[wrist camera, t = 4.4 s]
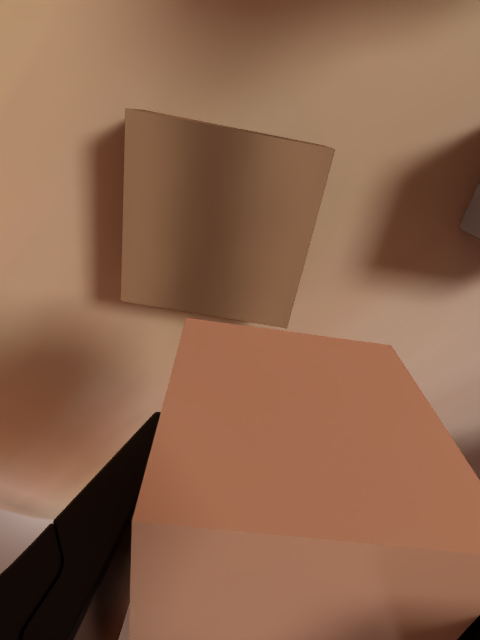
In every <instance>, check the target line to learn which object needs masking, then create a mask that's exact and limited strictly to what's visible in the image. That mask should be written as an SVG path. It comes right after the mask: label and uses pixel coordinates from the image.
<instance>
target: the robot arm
mask: <svg viewBox="0 0 480 640" xmlns="http://www.w3.org/2000/svg"><path fill="white" fill-rule="evenodd" d="M160 414H161V412H155V413H154V414H153V415H152V416H151V417H150V418H149V419H148V420H147V421H146V422H145V424H144V425H143V426H142V427H141V428H140V429H139V430H138V431H137V432H136V433H135V434H134V435H133V436H132V437H131V438H130V440H129V441H128V442H127V443H126V444H125V445H124V446H123V447H122V448H121V449H120V450H119V451H118V452H117V453H116V454H115V456H114V457H113V458H112V459H111V460H110V461H109V462H108V463H107V464H106V465H105V466H104V467H103V468H102V469H101V470H100V472H99V473H98V474H97V475H96V476H95V477H94V478H93V479H92V480H91V481H90V482H89V483H88V484H87V485H86V486H85V487H84V489H83V490H82V491H81V492H80V493H79V494H78V495H77V496H76V497H75V498H74V499H73V500H72V501H71V502H70V503H69V505H68V506H67V507H66V508H65V509H64V510H63V511H62V512H61V513H60V514H59V515H58V516H57V517H56V518H55V519H54V521H53V523H54V524H50V525H49V526H48V527H47V528H46V529H45V530H44V531H43V532H42V533H41V534H40V535H39V536H38V538H36V540H35V541H34V542H33V543H32V544H31V545H30V546H29V547H28V548H27V549H26V550H25V551H24V552H23V553H22V554H21V555H20V556H19V557H18V558H17V559H16V560H15V561H14V562H13V563H12V564H11V565H10V566H9V567H8V568H7V569H6V570H4V571H3V572H2V573H1V574H0V640H118V639H119V635H120V632H121V629H122V626H123V622H124V619H125V615H126V612H127V609H128V606H129V603H130V574H131V535H132V519H133V515H134V511H135V508H136V504H137V500H138V496H139V493H140V489H141V485H142V481H143V478H144V474H145V470H146V466H147V463H148V459H149V455H150V452H151V448H152V444H153V440H154V437H155V433H156V429H157V425H158V422H159V418H160ZM457 640H480V615H479V616H478V617H477V618H476V619H475V621H474V622H473V623H472V624H471V625H470V626H469V627H468V628H467V629H466V630H465V631H464V632H463V634H462V635H461V636H460V637H459V638H458V639H457Z"/></svg>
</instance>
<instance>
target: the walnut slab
mask: <svg viewBox="0 0 480 640" xmlns="http://www.w3.org/2000/svg"><path fill="white" fill-rule="evenodd" d="M334 152H335V149H332V148H329V147H326V146H324V145H319V144H314V143H309V142H304V141H298V140H293V139H288V138H283V137H278V136H273V135H268V134H263V133H258V132H253V131H248V130H243V129H237V128H232V127H227V126H222V125H217V124H212V123H207V122H202V121H197V120H192V119H187V118H182V117H176V116H171V115H166V114H161V113H156V112H151V111H146V110H138V109H127V108H125V147H124V187H123V227H122V267H121V301H123V302H130V303H136V304H142V305H148V306H154V307H160V308H166V309H172V310H178V311H184V312H191V313H197V314H203V315H209V316H215V317H221V318H227V319H233V320H239V321H246V322H252V323H258V324H264V325H270V326H276V327H282V328H287V326H288V323H289V319H290V315H291V311H292V308H293V304H294V300H295V297H296V293H297V289H298V285H299V282H300V278H301V274H302V271H303V267H304V263H305V260H306V256H307V252H308V248H309V245H310V241H311V237H312V234H313V230H314V226H315V222H316V219H317V215H318V211H319V208H320V204H321V200H322V197H323V193H324V189H325V185H326V182H327V178H328V174H329V171H330V167H331V163H332V159H333V156H334Z"/></svg>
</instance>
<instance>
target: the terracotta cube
mask: <svg viewBox="0 0 480 640" xmlns="http://www.w3.org/2000/svg"><path fill="white" fill-rule="evenodd" d="M479 615H480V480H479V478H478V477H477V475H476V474H475V472H474V471H473V469H472V468H471V466H470V465H469V463H468V462H467V460H466V459H465V457H464V456H463V454H462V452H461V451H460V449H459V448H458V446H457V445H456V443H455V442H454V440H453V439H452V437H451V436H450V434H449V433H448V431H447V430H446V428H445V427H444V425H443V424H442V422H441V421H440V419H439V417H438V416H437V414H436V413H435V411H434V410H433V408H432V407H431V405H430V404H429V402H428V401H427V399H426V398H425V396H424V395H423V393H422V392H421V390H420V389H419V387H418V386H417V384H416V382H415V381H414V379H413V378H412V376H411V375H410V373H409V372H408V370H407V369H406V367H405V366H404V364H403V363H402V361H401V360H400V358H399V357H398V355H397V354H396V352H395V350H394V349H393V347H392V346H391V345H384V344H377V343H369V342H362V341H354V340H347V339H340V338H332V337H325V336H317V335H310V334H302V333H295V332H288V331H280V330H273V329H265V328H258V327H251V326H243V325H236V324H228V323H221V322H214V321H206V320H199V319H191V318H186V321H185V324H184V328H183V332H182V336H181V339H180V343H179V347H178V351H177V354H176V358H175V362H174V366H173V369H172V373H171V377H170V381H169V384H168V388H167V392H166V395H165V399H164V403H163V407H162V410H161V414H160V418H159V422H158V425H157V429H156V433H155V437H154V440H153V444H152V448H151V452H150V455H149V459H148V463H147V466H146V470H145V474H144V478H143V481H142V485H141V489H140V493H139V496H138V500H137V504H136V508H135V511H134V515H133V519H132V535H131V574H130V614H129V640H457V639H458V638H459V637H460V636H461V635H462V634H463V632H464V631H465V630H466V629H467V628H468V627H469V626H470V625H471V624H472V623H473V622H474V621H475V619H476V618H477V617H478V616H479Z"/></svg>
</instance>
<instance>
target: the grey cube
mask: <svg viewBox="0 0 480 640" xmlns="http://www.w3.org/2000/svg"><path fill="white" fill-rule="evenodd" d="M459 229H461V230H463V231H465V232H467V233H469V234H471V235H473V236H475V237H477V238H479V239H480V181H479V184H478V186H477V188H476V190H475V193H474V195H473V197H472V199H471V202H470V204H469V206H468V208H467V211H466V213H465V215H464V217H463V220H462V222H461V224H460V226H459Z"/></svg>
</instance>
